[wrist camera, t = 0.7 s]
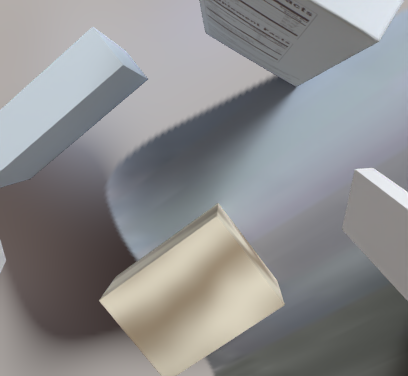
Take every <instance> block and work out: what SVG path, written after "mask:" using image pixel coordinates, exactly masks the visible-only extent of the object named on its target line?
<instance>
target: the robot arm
mask: <svg viewBox="0 0 408 376" xmlns="http://www.w3.org/2000/svg"><path fill="white" fill-rule="evenodd" d="M342 230H343V231H344V232H345V233H346V234H347V235H348V236H349V238H350V239H351V240H352V241H353V242H354V243H355V244H356V245H357V246H358V247H359V248H360V250H361V251H362V252H363V253H364V254H365V255H366V256H367V257H368V258H369V259H370V260H371V262H372V263H373V264H374V265H375V266H376V267H377V268H378V269H379V270H380V271H381V272H382V273H383V275H384V276H385V277H386V278H387V279H388V280H389V281H390V282H391V283H392V284H393V285H394V287H395V288H396V289H397V290H398V291H399V292H400V293H401V294H402V295H403V296H404V297H405V299H406V300H407V301H408V192H407V191H405V190H404V189H402V188H401V187H400V186H398V185H397V184H395V183H394V182H392V181H391V180H390V179H388V178H387V177H385V176H384V175H382V174H381V173H380V172H378V171H377V170H375V169H374V168H364V169H355V171H354V176H353V180H352V185H351V190H350V195H349V199H348V204H347V209H346V213H345V218H344V223H343V228H342ZM5 262H6V259H5V255H4V251H3V248H2V244H1V240H0V272H1V270H2V268H3V266H4V264H5Z"/></svg>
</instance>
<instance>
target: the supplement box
mask: <svg viewBox="0 0 408 376" xmlns="http://www.w3.org/2000/svg"><path fill="white" fill-rule="evenodd" d="M199 1H200V6H201V11H202V17H203V23H204V28H205V32H206V33H207V34H208V35H210V36H211V37H213V38H215V39H216V40H218V41H219V42H221V43H223V44H224V45H226V46H228V47H229V48H231V49H233V50H234V51H236V52H237V53H239V54H241V55H243V56H244V57H246V58H248V59H249V60H251V61H253V62H255V63H256V64H258V65H259V66H261V67H263V68H264V69H266V70H268V71H270V72H271V73H273V74H275V75H276V76H278V77H280V78H282V79H283V80H285V81H287V82H289V83H290V84H292V85H294V86H299V85H301V84H303V83H304V82H306V81H308V80H310V79H312V78H313V77H315V76H317V75H319V74H321V73H322V72H324V71H326V70H328V69H330V68H331V67H333V66H335V65H337V64H339V63H341V62H342V61H344V60H346V59H348V58H350V57H351V56H353V55H355V54H357V53H359V52H361V51H363V50H364V49H366V48H368V47H370V46H372V45H374V44H376V43H377V42H379V41H380V39H381V37H382V36H383V34H384V33H385V31H386V29H387V28H388V26H389V24H390V23H391V21H392V19H393V18H394V16H395V15H396V13H397V11H398V10H399V8H400V7H401V5H402V3H403V2H404V0H199Z"/></svg>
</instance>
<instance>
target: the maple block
mask: <svg viewBox="0 0 408 376" xmlns="http://www.w3.org/2000/svg"><path fill="white" fill-rule="evenodd" d="M99 301H100V302H101V304H102V305H103V306H104V307H105V308H106V310H107V311H108V312H109V313H110V314H111V316H112V317H113V318H114V319H115V320H116V322H117V323H118V324H119V325H120V326H121V328H122V329H123V330H124V331H125V333H126V334H127V335H128V336H129V337H130V339H131V340H132V341H133V342H134V343H135V345H136V346H137V347H138V348H139V349H140V350H141V352H142V353H143V354H144V355H145V357H146V358H147V359H148V360H149V361H150V363H151V364H152V365H153V366H154V368H155V369H156V370H157V371H158V372H159V373H160V375H161V376H177V375H178V374H180V373H181V372H183V371H184V370H186V369H187V368H189V367H191V366H192V365H193V364H195V363H197V362H198V361H200V360H201V359H203V358H204V357H206V356H207V355H209V354H210V353H212V352H213V351H215V350H217V349H218V348H220V347H221V346H223V345H224V344H226V343H227V342H229V341H230V340H232V339H233V338H235V337H236V336H238V335H240V334H241V333H243V332H244V331H246V330H247V329H249V328H250V327H252V326H253V325H255V324H256V323H258V322H259V321H261V320H262V319H264V318H266V317H267V316H269V315H270V314H272V313H273V312H275V311H276V310H278V309H279V308H281V307H282V306H284V305H285V304H284V301H283V298H282V295H281V292H280V288H279V285H278V282H277V280H276V279H275V277H274V276H273V275H272V273H271V272H270V271H269V269H268V268H267V267H266V265H265V264H264V263H263V261H262V260H261V259H260V258H259V256H258V255H257V254H256V252H255V251H254V250H253V248H252V247H251V246H250V244H249V243H248V242H247V240H246V239H245V238H244V236H243V235H242V234H241V232H240V231H239V230H238V229H237V227H236V226H235V225H234V223H233V222H232V221H231V219H230V218H229V217H228V215H227V214H226V213H225V211H224V210H223V209H222V207H221V206H220V205H219V203H217V204H216V205H215V206H213V207H212V208H211V209H209V210H208V211H206V212H205V213H204V214H202V215H201V216H200V217H198V218H197V219H195V220H194V221H193V222H191V223H190V224H188V225H187V226H186V227H184V228H183V229H182V230H180V231H179V232H177V233H176V234H175V235H173V236H172V237H170V238H169V239H168V240H166V241H165V242H164V243H162V244H161V245H159V246H158V247H157V248H155V249H154V250H153V251H151V252H150V253H148V254H147V255H146V256H144V257H143V258H141V259H140V260H139V261H137V262H135V263H134V264H132V265H131V266H130V267H128V268H127V269H125V270H124V271H123V272H121V273H120V274H119V275H117V276H116V278H115V279H114V280H113V282H112V283H111V285H110V286H109V287H108V289H107V290H106V292H105V293H104V294H103V296H102V297H101V299H100V300H99Z"/></svg>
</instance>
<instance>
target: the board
mask: <svg viewBox="0 0 408 376" xmlns="http://www.w3.org/2000/svg"><path fill="white" fill-rule="evenodd" d="M147 80H148V78H147V77H146V76H145V75H144V74H143V72H142V71H141V70H140V68H139V67H138V66H137V64H136V63H135V62H134V61H133V59H132V58H131V57H130V55H129V54H128V53H127V52H126V50H124V49H123V48H121V47H120V46H119V45H117V44H116V43H114V42H113V41H112V40H111V39H109V38H108V37H106V36H105V35H104V34H102V33H101V32H99V31H98V30H97V29H95V28H94V27H92V28H91V29H90V30H88V31H87V32H86V33H85V34H84V35H83V36H82V37H81V38H80V39H78V40H77V41H76V42H75V43H74V44H73V45H72V46H71V47H70V48H68V49H67V50H66V51H65V52H64V53H63V54H62V55H61V56H60V57H58V58H57V59H56V60H55V61H54V62H53V63H52V64H51V65H50V66H49V67H47V68H46V69H45V70H44V71H43V72H42V73H41V74H40V75H38V76H37V77H36V78H35V79H34V80H33V81H32V82H31V83H30V84H28V85H27V86H26V87H25V88H24V89H23V90H22V91H21V92H20V93H18V94H17V95H16V96H15V97H14V98H13V99H12V100H11V101H10V102H8V103H7V105H5V106H4V107H3V108H2V109H1V110H0V188H1V187H5V186H8V185H11V184H15V183H18V182H22V181H25V180H29V179H31V178H32V177H33V176H35V175H36V174H37V173H38V172H39V171H40V170H41V169H43V168H44V167H45V166H46V165H48V164H49V163H50V162H51V161H52V160H53V159H54V158H56V157H57V156H58V155H59V154H60V153H62V152H63V151H64V150H65V149H66V148H68V147H69V146H70V145H71V144H72V143H73V142H75V141H76V140H77V139H78V138H79V137H81V136H82V135H83V134H84V133H85V132H86V131H88V130H89V129H90V128H91V127H92V126H94V125H95V124H96V123H97V122H98V121H99V120H101V119H102V118H103V117H104V116H105V115H106V114H108V113H109V112H110V111H111V110H112V109H114V108H115V107H116V106H117V105H118V104H119V103H121V102H122V101H123V100H124V99H125V98H127V97H128V96H129V95H130V94H131V93H132V92H134V91H135V90H136V89H137V88H138V87H139V86H141V85H142V84H143V83H144V82H145V81H147Z"/></svg>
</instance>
